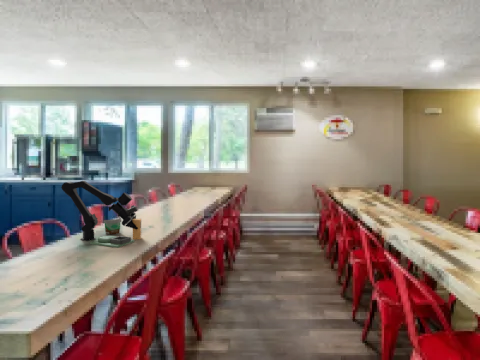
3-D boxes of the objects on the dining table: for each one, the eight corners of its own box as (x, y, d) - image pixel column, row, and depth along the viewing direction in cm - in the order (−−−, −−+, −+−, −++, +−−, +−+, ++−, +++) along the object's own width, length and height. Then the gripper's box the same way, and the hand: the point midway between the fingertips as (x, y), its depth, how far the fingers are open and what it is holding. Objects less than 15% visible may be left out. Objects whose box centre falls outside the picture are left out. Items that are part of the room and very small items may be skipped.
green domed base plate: (90, 243, 190) (90, 238, 189) (108, 238, 204) (108, 232, 203) (117, 247, 183) (117, 241, 183) (134, 241, 197) (134, 236, 197)
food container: (108, 236, 209) (108, 221, 208) (103, 234, 213) (103, 219, 212) (125, 232, 219) (125, 218, 218) (120, 231, 223) (120, 217, 222)
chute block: (132, 239, 202) (132, 220, 201) (133, 237, 206) (133, 218, 206) (140, 239, 203) (140, 219, 202) (141, 237, 207) (141, 218, 206)
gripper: (127, 204, 193) (145, 221, 196) (132, 199, 211) (149, 216, 214) (113, 217, 192) (132, 234, 195) (120, 211, 211) (137, 227, 213)
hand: (138, 227), depth 204 cm, fingers open, 9 cm apart
